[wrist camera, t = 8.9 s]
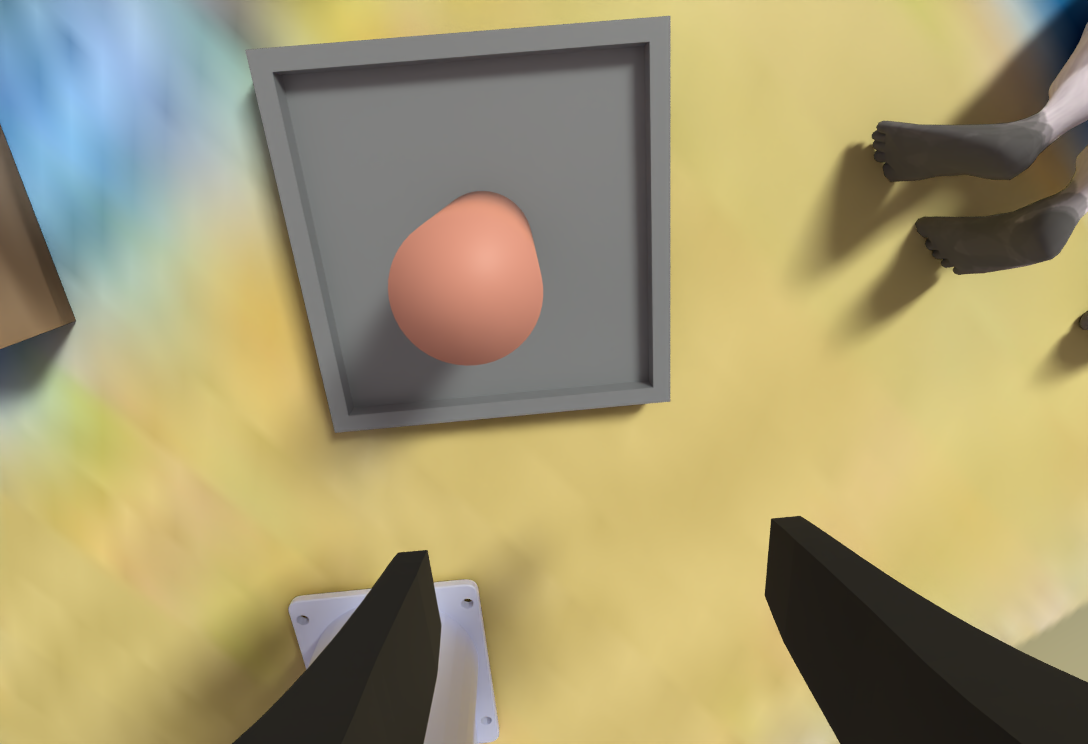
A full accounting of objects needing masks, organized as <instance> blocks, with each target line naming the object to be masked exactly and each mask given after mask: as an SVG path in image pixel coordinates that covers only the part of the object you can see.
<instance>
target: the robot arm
mask: <svg viewBox="0 0 1088 744" xmlns="http://www.w3.org/2000/svg"><path fill="white" fill-rule="evenodd" d="M765 597H766V600H767V602H768V605H769V607H770V610H771V613H772V615H773V618H774V620H775V623H776V625H777V627H778V630H779V632H780V634H781V637H782V639H783V641H784V644H785V645H786V647H787V649H788V651H789V653H790V655H791V656H792V658H793V660H794V662H795V664H796V666H797V667H798V669H799V671H800V673H801V675H802V676H803V678H804V680H805V682H806V684H807V685H808V687H809V689H810V691H811V692H812V694H813V696H814V698H815V700H816V701H817V703H818V705H819V707H820V709H821V710H822V712H823V714H824V716H825V717H826V719H827V721H828V723H829V725H830V726H831V728H832V730H833V732H834V733H835V735H836V737H837V739H838V741H839V742H840V744H1088V682H1086V681H1083V680H1081V679H1079V678H1077V677H1075V676H1072V675H1070V674H1068V673H1066V672H1064V671H1061V670H1059V669H1057V668H1055V667H1053V666H1050V665H1048V664H1046V663H1044V662H1042V661H1040V660H1038V659H1036V658H1034V657H1032V656H1029V655H1027V654H1025V653H1023V652H1021V651H1019V650H1017V649H1015V648H1013V647H1011V646H1010V645H1008V644H1006V643H1004V642H1002V641H1000V640H998V639H996V638H994V637H992V636H990V635H989V634H987V633H985V632H983V631H981V630H979V629H977V628H975V627H973V626H972V625H970V624H968V623H966V622H964V621H963V620H961V619H959V618H957V617H955V616H954V615H952V614H950V613H949V612H947V611H945V610H944V609H942V608H940V607H939V606H937V605H935V604H934V603H932V602H930V601H929V600H927V599H925V598H924V597H922V596H920V595H919V594H917V593H915V592H914V591H912V590H911V589H909V588H907V587H906V586H904V585H903V584H901V583H899V582H898V581H896V580H895V579H893V578H892V577H890V576H889V575H887V574H886V573H884V572H883V571H881V570H880V569H878V568H877V567H875V566H874V565H872V564H871V563H869V562H868V561H866V560H865V559H863V558H862V557H860V556H859V555H857V554H856V553H854V552H853V551H851V550H850V549H849V548H847V547H846V546H844V545H843V544H841V543H840V542H838V541H837V540H835V539H834V538H833V537H831V536H830V535H828V534H827V533H825V532H824V531H822V530H821V529H819V528H818V527H816V526H815V525H813V524H812V523H810V522H809V521H807V520H806V519H804V518H803V517H801V516H795V517H784V518H773V519H771V528H770V539H769V551H768V563H767V575H766V587H765ZM464 599H470V600H472V601H470V602H466V601H464ZM288 609H289V614H290V617H291V621H292V624H293V627H294V631H295V634H296V637H297V640H298V644H299V647H300V650H301V654H302V657H303V660H304V663H305V667H306V671H305V672H304V673H303V674H302V675H301V676H300V677H299V679H298V680H297V681H296V682H295V683H294V684H293V685H292V686H291V687H290V688H289V689H288V690H287V691H286V693H285V694H284V695H283V696H282V697H281V698H280V699H279V700H278V701H277V702H276V703H275V704H274V705H273V706H272V707H271V708H270V709H269V710H268V711H267V712H266V713H265V714H264V715H263V716H262V717H261V718H260V719H259V720H258V721H257V722H256V723H255V724H254V725H252V726H251V727H250V728H249V729H248V730H247V731H246V732H245V733H244V734H242V735H241V736H240V737H239V738H238V739H237V740H236V741H235V742H234V743H232V744H478V743H487V742H492V741H494V740H496V739H497V738H498V737H499V723H498V716H497V710H496V703H495V696H494V690H493V683H492V676H491V670H490V663H489V656H488V650H487V643H486V636H485V630H484V623H483V616H482V610H481V603H480V596H479V590H478V586H477V584H476V583H475V582H474V581H472V580H468V579H463V580H453V581H443V582H433V577H432V572H431V567H430V561H429V556H428V551H427V550H423V551H412V552H401V553H398V554H397V555H396V556H395V557H394V558H393V559H392V561H391V562H390V564H389V565H388V566H387V568H386V569H385V571H384V572H383V573H382V575H381V576H380V578H379V579H378V580H377V582H376V583H375V584H374V586H373V587H372V589H362V590H352V591H342V592H332V593H322V594H312V595H302V596H297V597H295V598H294V599H293V600H292V602H291V604H290V606H289V608H288ZM301 615H304V616H306V617H308V618H304V617H302V616H301Z"/></svg>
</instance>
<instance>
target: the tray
mask: <svg viewBox="0 0 1088 744" xmlns="http://www.w3.org/2000/svg"><path fill="white" fill-rule="evenodd" d="M246 55H247V59H248V63H249V68H250V72H251V76H252V80H253V85H254V89H255V93H256V97H257V102H258V106H259V110H260V114H261V119H262V123H263V127H264V132H265V136H266V140H267V144H268V149H269V153H270V157H271V161H272V166H273V170H274V174H275V179H276V183H277V187H278V191H279V196H280V200H281V204H282V208H283V213H284V217H285V221H286V226H287V230H288V234H289V238H290V243H291V247H292V251H293V255H294V260H295V264H296V268H297V273H298V277H299V281H300V285H301V290H302V294H303V298H304V302H305V307H306V311H307V315H308V320H309V324H310V328H311V332H312V337H313V341H314V345H315V349H316V354H317V358H318V362H319V367H320V371H321V375H322V379H323V384H324V388H325V392H326V396H327V401H328V405H329V409H330V414H331V418H332V422H333V426H334V431H335V433H338V432H348V431H359V430H370V429H380V428H391V427H402V426H413V425H423V424H434V423H445V422H455V421H466V420H477V419H487V418H498V417H509V416H519V415H530V414H541V413H552V412H562V411H573V410H584V409H594V408H605V407H616V406H626V405H637V404H648V403H658V402H669V401H670V16H662V17H649V18H637V19H624V20H612V21H599V22H587V23H574V24H562V25H549V26H537V27H524V28H511V29H499V30H486V31H474V32H461V33H449V34H436V35H424V36H411V37H398V38H386V39H373V40H361V41H348V42H336V43H323V44H311V45H298V46H285V47H273V48H260V49H248V50H246ZM475 191H489V192H494V193H498V194H500V195H503V196H505V197H507V198H508V199H510V200H511V201H513V202H514V203H515V204H516V205H517V206H518V207H519V208H520V209H521V210H522V212H523V213H524V215H525V216H526V218H527V220H528V223H529V225H530V228H531V232H532V237H533V241H534V245H535V250H536V254H537V258H538V263H539V267H540V272H541V276H542V282H543V302H542V308H541V312H540V316H539V318H538V321H537V323H536V325H535V327H534V329H533V330H532V332H531V334H530V335H529V336H528V338H527V339H526V340H525V341H524V342H523V343H522V344H521V345H520V346H519V347H518V348H517V349H515V350H514V351H513V352H512V353H510V354H508V355H507V356H505V357H503V358H501V359H498V360H496V361H493V362H490V363H486V364H481V365H469V366H465V365H455V364H451V363H446V362H444V361H441V360H438V359H436V358H434V357H432V356H429V355H428V354H426V353H425V352H423V351H422V350H420V349H419V348H418V347H416V346H415V345H414V344H413V343H412V342H411V341H410V340H409V339H408V338H407V337H406V336H405V334H404V333H403V331H402V330H401V329H400V327H399V325H398V323H397V322H396V320H395V317H394V315H393V312H392V310H391V306H390V302H389V295H388V278H389V272H390V268H391V264H392V261H393V259H394V257H395V255H396V252H397V251H398V249H399V247H400V246H401V244H402V243H403V242H404V241H405V239H406V238H407V237H408V236H409V235H410V234H411V233H412V232H413V231H415V230H416V229H417V228H418V227H420V226H421V225H422V224H424V223H425V222H426V221H427V220H429V219H430V218H431V217H433V216H434V215H435V214H437V213H438V212H439V211H441V210H442V209H443V208H444V207H446V206H447V205H448V204H450V203H451V202H452V201H454V200H455V199H457V198H458V197H460V196H462V195H464V194H467V193H470V192H475Z"/></svg>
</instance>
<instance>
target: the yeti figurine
mask: <svg viewBox="0 0 1088 744" xmlns="http://www.w3.org/2000/svg"><path fill="white" fill-rule="evenodd" d="M1087 120H1088V23H1087V24H1086V26H1085V29H1084V31H1083V34H1082V37H1081V39H1080V42H1079V44H1078V45H1077V47H1076V49H1075V50H1074V52H1073V54H1072V55H1071V57H1070V58H1069V60H1068V61H1067V63H1066V64H1065V65H1064V67H1063V68H1062V70H1061V71H1060V73H1059V74H1058V76H1057V77H1056V78H1055V80H1054V81H1053V83H1052V85H1051V86H1050V89H1049V101H1048V103H1047V104H1046V105H1045V107H1044V108H1043V109H1042V110H1041V111H1040V112H1039V113H1037V114H1035V115H1032V116H1030V117H1028V118H1025V119H1022V120H1019V121H1015V122H1010V123H1001V124H984V125H919V124H911V123H903V122H892V121H882V122H879V123H878V125H877V127H876V128H877V130H876V131H875V132H873V134H872V138H873V139H874V140H875V141H874V142H873V148H874V149H875V150H877V151H876V152H875V154H874V159H875V160H876V161H877V162H885V164H884V166H883V171H884V175H885V177H886V178H887V179H888V180H889V181H890V182H896V181H915V180H922V179H927V178H932V177H936V176H953V175H971V176H976V177H981V178H986V179H992V180H1010V179H1012V178H1014V177H1015V176H1017V175H1019V174H1020V173H1021V172H1023V171H1024V170H1026V169H1027V168H1028V167H1029V166H1030V165H1031V164H1032V163H1033V162H1034V161H1035V159H1036V158H1037V156H1038V155H1039V154H1040V153H1041V152H1042V151H1043V150H1044V149H1045V148H1047V147H1048V146H1049V145H1050V144H1051V143H1053V142H1054V141H1055V140H1056V139H1058V138H1059V137H1060V136H1062V135H1063V134H1064V133H1066V132H1067V131H1069V130H1070V129H1072V128H1074V127H1076V126H1077V125H1079V124H1081V123H1083V122H1085V121H1087ZM1075 166H1076V171H1075V174H1074V176H1073V178H1072V180H1071V182H1070V183H1069V185H1068V186H1067V187H1066V188H1065V189H1064V190H1062V191H1061V192H1059V193H1057V194H1055V195H1053V196H1050V197H1047V198H1045V199H1042V200H1039V201H1037V202H1035V203H1033V204H1030V205H1028V206H1026V207H1023V208H1021V209H1019V210H1016V211H1014V212H1009V213H1003V214H997V215H992V216H986V217H922V218H920V219H918V220H917V222H916V224H915V225H916V228H917V232H918V233H919V234H920V235H921V236H923V237H927V241H926V243H925V245H926V248H927V249H929V250H934V251H933V253H932V255H933V257H935V258H937V259H943V260H942V262H941V265H942V266H943V267H945V268H947V267H954V268H953V272H954V273H955V274H958V275H961V274H974V273H987V272H993V271H999V270H1006V269H1012V268H1018V267H1023V266H1028V265H1032V264H1036V263H1039V262H1043V261H1047V260H1051V259H1053V258H1054V257H1055V256H1057V255H1058V254H1059V253H1060V252H1061V250H1062V249H1063V247H1064V246H1065V244H1066V242H1067V241H1068V239H1069V237H1070V235H1071V234H1072V232H1073V230H1074V228H1075V226H1076V225H1077V223H1078V222H1079V220H1080V218H1081V217H1082V216H1084V215H1085V214H1086V213H1087V212H1088V145H1087V146H1086V147H1085V149H1084V150H1083V151H1082V152H1081V153H1080V154H1079V155H1078V156H1077V159H1076V163H1075ZM1079 325H1080V326H1081V328H1082V329H1084V330H1088V311H1087V312H1086V313H1084V314H1083V315H1082V318H1081V320H1080V323H1079Z"/></svg>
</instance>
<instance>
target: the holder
mask: <svg viewBox="0 0 1088 744" xmlns="http://www.w3.org/2000/svg"><path fill="white" fill-rule="evenodd" d="M74 321H76V320H75V317H74V315H73V312H72V310H71V307H70V304H69V302H68V299H67V297H66V294H65V292H64V289H63V286H62V284H61V281H60V279H59V276H58V273H57V271H56V268H55V266H54V263H53V260H52V258H51V255H50V253H49V250H48V247H47V245H46V242H45V240H44V237H43V234H42V232H41V229H40V227H39V224H38V221H37V219H36V216H35V214H34V211H33V208H32V206H31V203H30V201H29V198H28V195H27V193H26V190H25V188H24V185H23V183H22V180H21V177H20V175H19V172H18V170H17V167H16V164H15V162H14V159H13V157H12V154H11V151H10V149H9V146H8V144H7V141H6V138H5V136H4V133H3V131H2V128H1V125H0V349H2V348H4V347H7V346H10V345H12V344H15V343H18V342H20V341H23V340H26V339H28V338H31V337H34V336H36V335H39V334H42V333H44V332H47V331H50V330H52V329H55V328H58V327H60V326H63V325H66V324H68V323H71V322H74Z"/></svg>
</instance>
